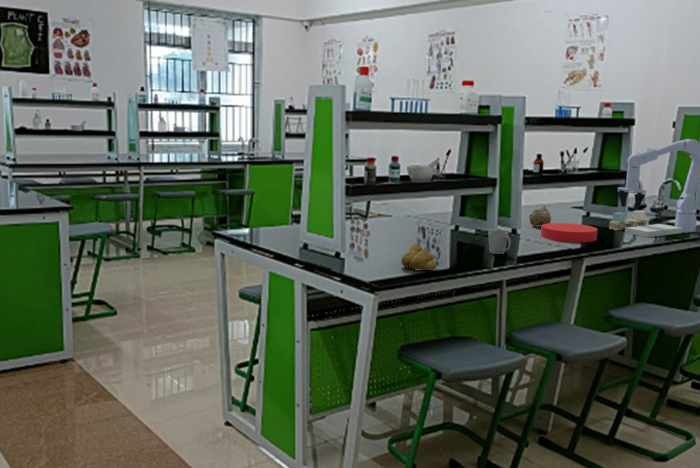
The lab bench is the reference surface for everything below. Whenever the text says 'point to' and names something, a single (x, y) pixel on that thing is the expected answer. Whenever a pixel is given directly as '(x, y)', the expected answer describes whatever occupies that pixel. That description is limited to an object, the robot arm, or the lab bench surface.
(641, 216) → the crate white
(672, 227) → the dock
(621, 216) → the crate teal
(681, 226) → the robot arm
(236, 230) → the lab bench surface
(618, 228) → the beige lumpy bar
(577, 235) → the disc
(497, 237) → the cup
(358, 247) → the lab bench surface
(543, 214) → the rock
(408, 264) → the bread roll
